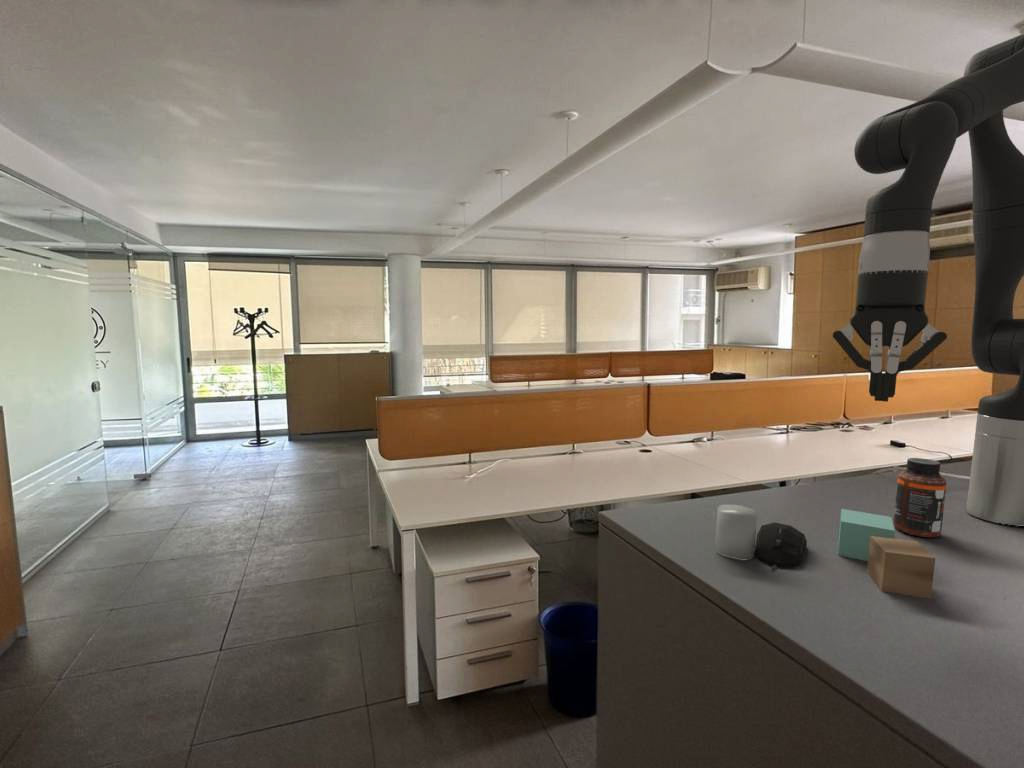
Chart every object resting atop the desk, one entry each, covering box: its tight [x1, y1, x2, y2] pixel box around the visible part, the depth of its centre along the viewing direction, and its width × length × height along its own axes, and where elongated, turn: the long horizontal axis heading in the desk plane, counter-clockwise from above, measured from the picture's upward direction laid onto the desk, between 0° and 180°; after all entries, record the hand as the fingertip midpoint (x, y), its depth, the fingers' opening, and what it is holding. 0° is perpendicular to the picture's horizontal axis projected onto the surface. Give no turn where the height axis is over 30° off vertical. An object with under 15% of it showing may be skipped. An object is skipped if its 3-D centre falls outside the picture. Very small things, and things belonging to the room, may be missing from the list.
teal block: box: [837, 508, 896, 562], centre depth 74 cm, size 6×6×5 cm
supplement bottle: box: [893, 457, 947, 539], centre depth 81 cm, size 6×6×11 cm
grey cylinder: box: [714, 503, 758, 560], centre depth 73 cm, size 5×5×6 cm
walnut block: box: [866, 536, 936, 599], centre depth 64 cm, size 5×5×5 cm
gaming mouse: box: [754, 522, 808, 574], centre depth 73 cm, size 6×15×4 cm, turn 148°
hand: (880, 400), depth 71 cm, fingers closed
